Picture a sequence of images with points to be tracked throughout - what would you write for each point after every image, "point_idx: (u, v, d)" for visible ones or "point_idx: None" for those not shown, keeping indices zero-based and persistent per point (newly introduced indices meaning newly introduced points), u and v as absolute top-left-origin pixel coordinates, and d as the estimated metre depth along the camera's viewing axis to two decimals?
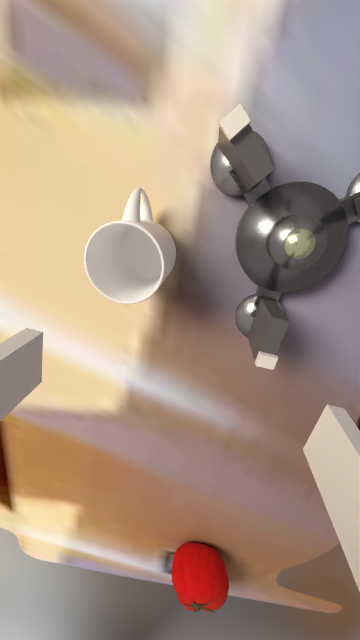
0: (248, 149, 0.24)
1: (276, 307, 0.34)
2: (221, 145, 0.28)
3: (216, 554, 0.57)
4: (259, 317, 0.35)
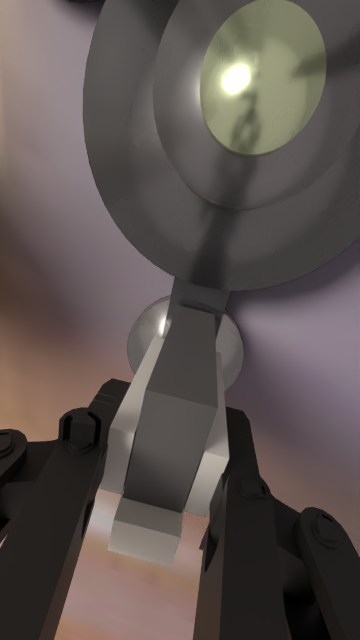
0: None
1: (204, 334, 0.11)
2: None
3: None
4: None
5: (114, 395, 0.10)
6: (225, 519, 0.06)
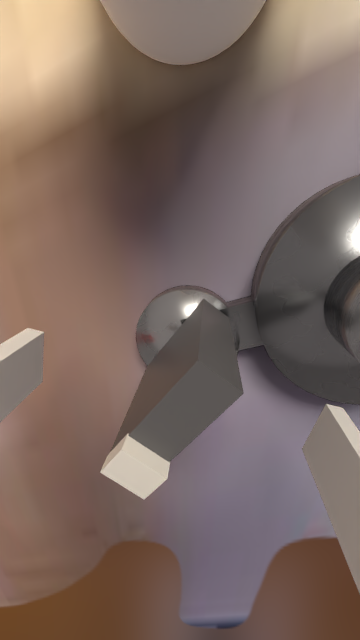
0: None
1: (225, 332, 0.13)
2: None
3: None
4: (179, 339, 0.14)
5: None
6: None
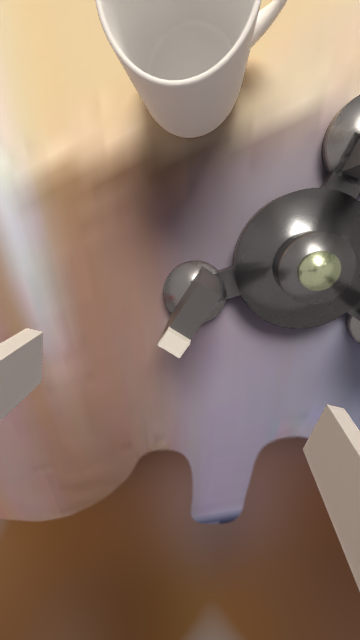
0: None
1: (215, 280, 0.24)
2: None
3: None
4: (190, 287, 0.25)
5: None
6: None
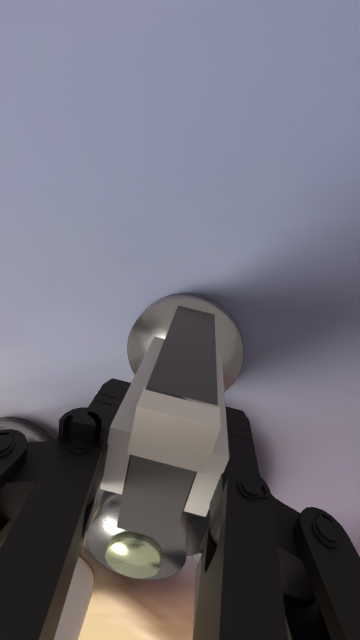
0: None
1: None
2: None
3: None
4: None
5: (114, 395, 0.10)
6: (225, 519, 0.06)
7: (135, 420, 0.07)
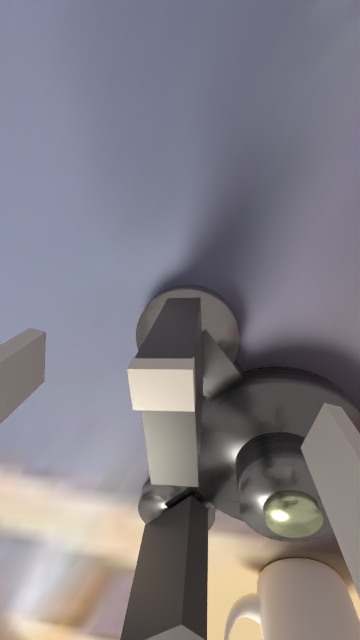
0: None
1: None
2: None
3: None
4: None
5: None
6: None
7: (130, 380, 0.09)
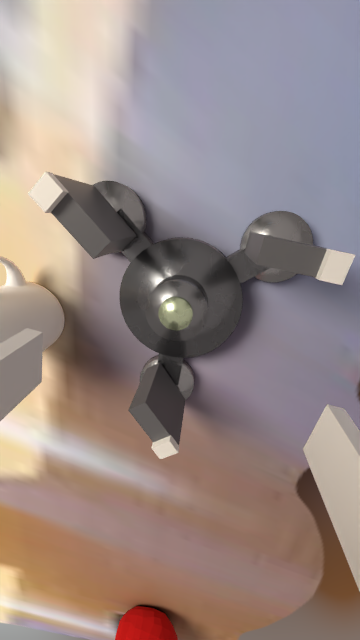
0: (74, 221, 0.20)
1: (151, 377, 0.29)
2: None
3: (165, 621, 0.51)
4: None
5: None
6: None
7: (348, 254, 0.18)
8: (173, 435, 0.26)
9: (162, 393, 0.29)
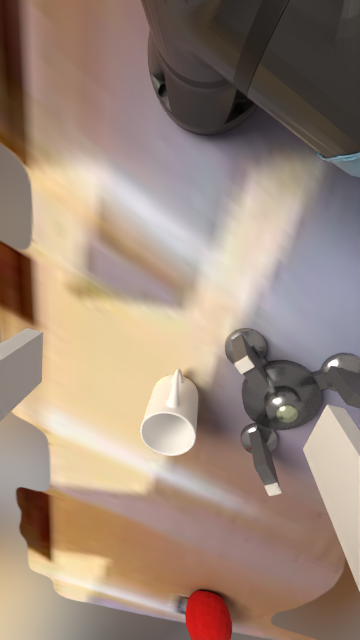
0: (253, 376, 0.37)
1: (258, 442, 0.47)
2: None
3: (222, 602, 0.69)
4: None
5: None
6: None
7: None
8: (277, 482, 0.44)
9: (266, 453, 0.46)
